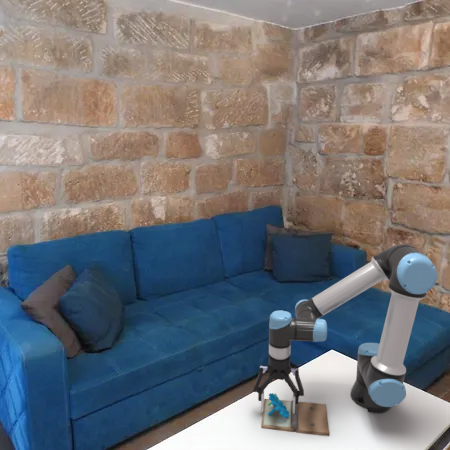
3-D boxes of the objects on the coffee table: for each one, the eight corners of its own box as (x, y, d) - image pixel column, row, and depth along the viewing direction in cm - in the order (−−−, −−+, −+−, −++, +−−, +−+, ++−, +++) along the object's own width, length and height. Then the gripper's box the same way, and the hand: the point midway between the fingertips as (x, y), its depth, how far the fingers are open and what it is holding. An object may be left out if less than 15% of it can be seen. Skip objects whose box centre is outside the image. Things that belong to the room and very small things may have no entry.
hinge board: (325, 406, 163) (326, 401, 162) (329, 436, 148) (329, 430, 147) (264, 401, 166) (264, 396, 165) (261, 429, 151) (261, 423, 150)
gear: (293, 421, 151) (274, 403, 149) (281, 432, 152) (261, 415, 150) (286, 401, 162) (268, 385, 160) (275, 412, 163) (257, 395, 161)
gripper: (312, 351, 154) (310, 406, 159) (247, 346, 157) (247, 400, 162) (313, 362, 147) (310, 419, 152) (245, 357, 150) (245, 413, 155)
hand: (278, 409), depth 157 cm, fingers open, 10 cm apart
